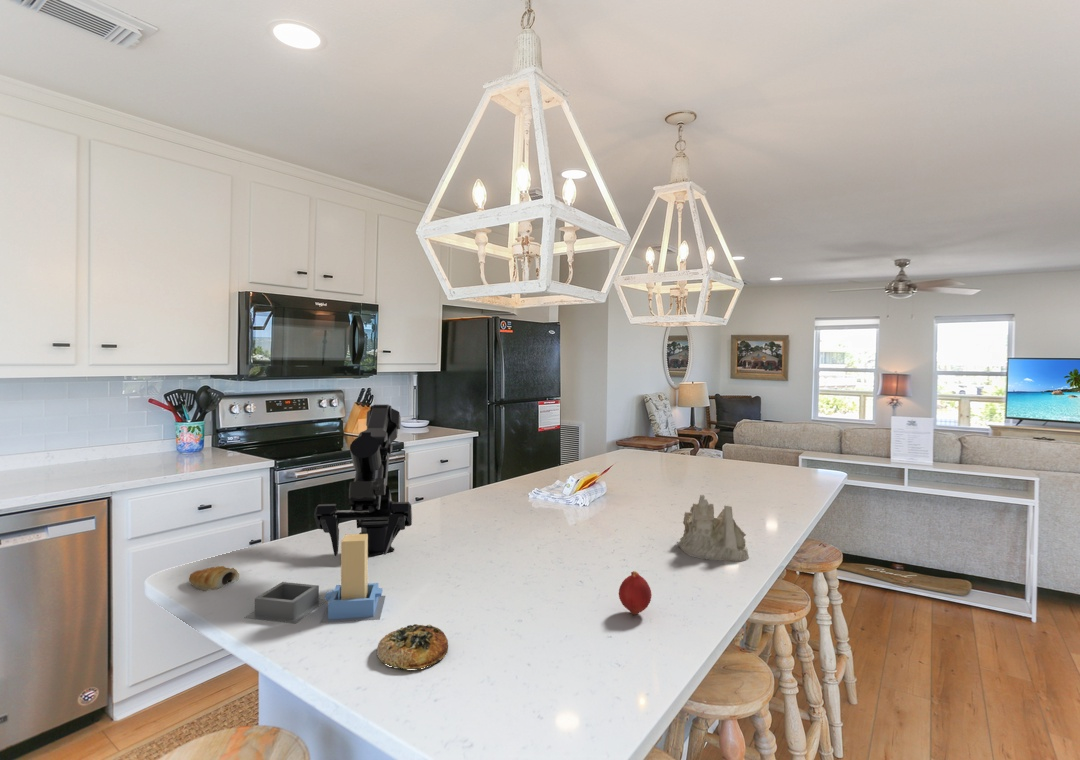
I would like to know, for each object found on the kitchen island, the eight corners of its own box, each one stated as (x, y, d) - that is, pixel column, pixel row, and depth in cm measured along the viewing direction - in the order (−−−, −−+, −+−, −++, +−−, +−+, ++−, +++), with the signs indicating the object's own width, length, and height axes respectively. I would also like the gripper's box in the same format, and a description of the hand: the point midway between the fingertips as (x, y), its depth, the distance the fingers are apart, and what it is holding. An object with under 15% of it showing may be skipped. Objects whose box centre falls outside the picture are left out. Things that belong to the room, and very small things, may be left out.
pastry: (178, 588, 112) (178, 569, 112) (207, 576, 118) (207, 558, 118) (216, 594, 109) (216, 575, 109) (243, 582, 116) (243, 563, 116)
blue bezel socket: (330, 601, 106) (331, 582, 106) (385, 598, 108) (385, 580, 108) (319, 626, 96) (319, 605, 96) (379, 622, 98) (379, 602, 98)
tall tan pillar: (345, 604, 103) (345, 534, 103) (367, 603, 104) (367, 533, 104) (341, 614, 100) (341, 541, 99) (364, 612, 100) (364, 540, 100)
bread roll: (453, 635, 94) (451, 607, 93) (443, 682, 83) (441, 651, 82) (386, 638, 93) (383, 610, 93) (367, 685, 82) (364, 654, 82)
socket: (280, 597, 108) (280, 579, 107) (328, 602, 106) (328, 583, 106) (243, 621, 98) (243, 600, 98) (295, 626, 96) (295, 606, 96)
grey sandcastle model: (750, 563, 129) (748, 497, 129) (676, 558, 134) (675, 494, 134) (747, 547, 144) (745, 487, 144) (681, 542, 149) (680, 485, 149)
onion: (629, 604, 107) (629, 562, 106) (656, 613, 103) (657, 570, 103) (612, 614, 102) (613, 571, 102) (640, 624, 98) (641, 579, 98)
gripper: (315, 464, 112) (302, 537, 102) (411, 463, 115) (407, 532, 105) (324, 494, 120) (312, 564, 110) (413, 492, 123) (410, 559, 113)
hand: (360, 554), depth 109 cm, fingers open, 9 cm apart
